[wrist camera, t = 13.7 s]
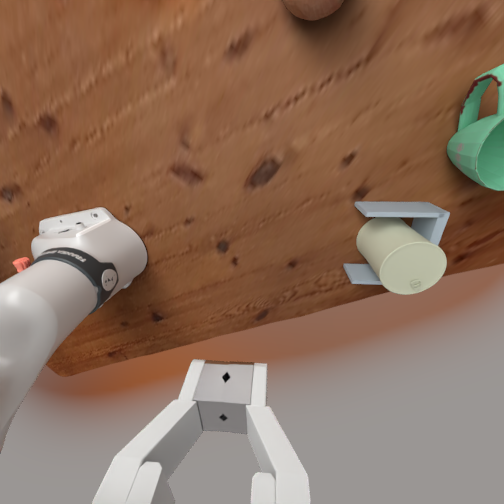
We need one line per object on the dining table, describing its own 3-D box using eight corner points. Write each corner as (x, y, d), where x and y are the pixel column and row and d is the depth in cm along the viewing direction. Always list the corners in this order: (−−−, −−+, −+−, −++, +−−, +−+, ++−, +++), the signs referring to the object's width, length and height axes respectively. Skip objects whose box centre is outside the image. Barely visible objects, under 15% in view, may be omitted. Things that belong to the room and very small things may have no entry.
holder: (343, 266, 49) (351, 283, 44) (355, 201, 43) (366, 212, 37) (406, 268, 48) (422, 285, 43) (427, 202, 42) (450, 212, 36)
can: (364, 266, 48) (389, 304, 38) (349, 227, 45) (372, 258, 34) (413, 248, 46) (454, 284, 35) (401, 206, 42) (443, 232, 32)
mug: (503, 158, 38) (573, 168, 29) (435, 187, 41) (480, 204, 32) (494, 56, 32) (577, 29, 24) (416, 97, 35) (464, 87, 26)
